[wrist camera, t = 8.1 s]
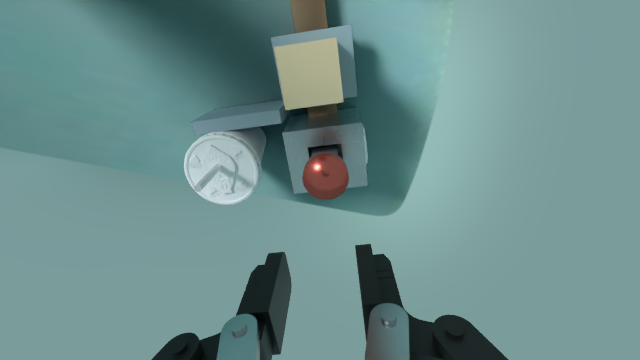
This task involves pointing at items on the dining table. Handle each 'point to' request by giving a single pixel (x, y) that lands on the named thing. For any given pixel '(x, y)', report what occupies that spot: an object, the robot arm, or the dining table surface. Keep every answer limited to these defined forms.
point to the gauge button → (325, 173)
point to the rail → (308, 18)
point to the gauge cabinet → (327, 131)
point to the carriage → (296, 80)
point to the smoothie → (226, 164)
